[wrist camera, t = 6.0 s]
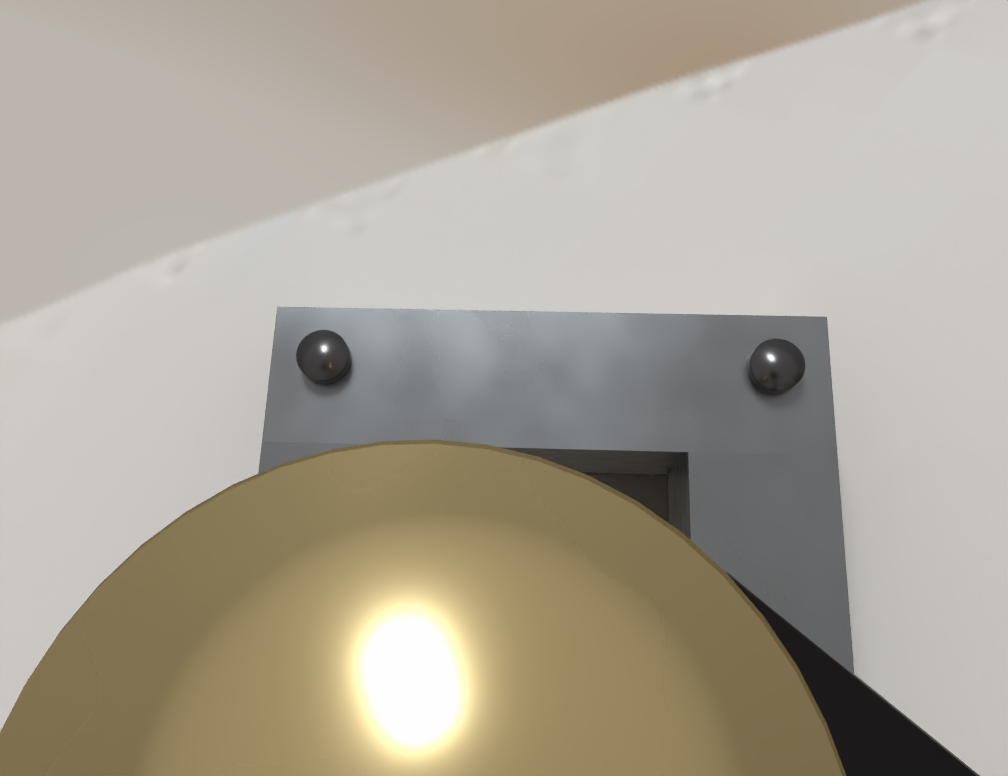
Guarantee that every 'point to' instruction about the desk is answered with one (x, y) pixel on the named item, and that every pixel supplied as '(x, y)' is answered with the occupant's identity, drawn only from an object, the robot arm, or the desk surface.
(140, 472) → the desk surface
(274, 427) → the housing
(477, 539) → the cylinder
